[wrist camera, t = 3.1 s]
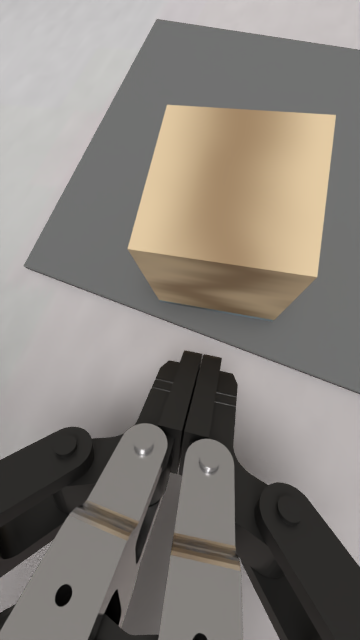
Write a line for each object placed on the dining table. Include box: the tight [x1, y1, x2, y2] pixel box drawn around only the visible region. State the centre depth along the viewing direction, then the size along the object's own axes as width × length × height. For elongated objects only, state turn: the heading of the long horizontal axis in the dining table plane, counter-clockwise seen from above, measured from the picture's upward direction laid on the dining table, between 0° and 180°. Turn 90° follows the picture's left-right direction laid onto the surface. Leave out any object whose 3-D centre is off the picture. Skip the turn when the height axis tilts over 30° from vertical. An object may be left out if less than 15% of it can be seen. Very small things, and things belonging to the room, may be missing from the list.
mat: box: [24, 19, 360, 394], centre depth 19 cm, size 26×24×1 cm
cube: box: [128, 105, 336, 322], centre depth 14 cm, size 7×7×7 cm
